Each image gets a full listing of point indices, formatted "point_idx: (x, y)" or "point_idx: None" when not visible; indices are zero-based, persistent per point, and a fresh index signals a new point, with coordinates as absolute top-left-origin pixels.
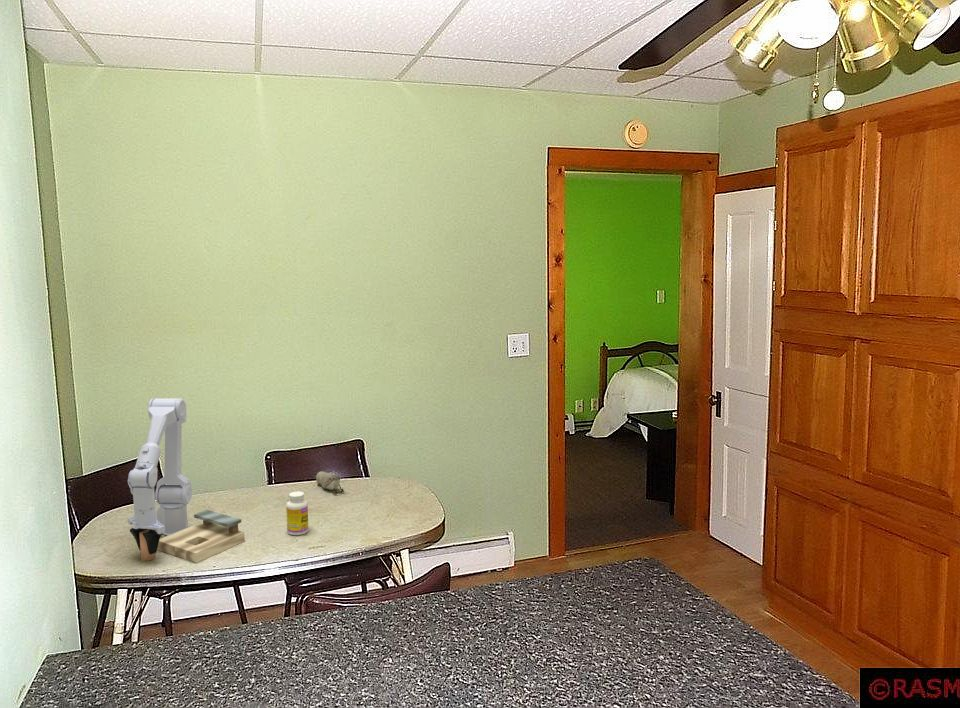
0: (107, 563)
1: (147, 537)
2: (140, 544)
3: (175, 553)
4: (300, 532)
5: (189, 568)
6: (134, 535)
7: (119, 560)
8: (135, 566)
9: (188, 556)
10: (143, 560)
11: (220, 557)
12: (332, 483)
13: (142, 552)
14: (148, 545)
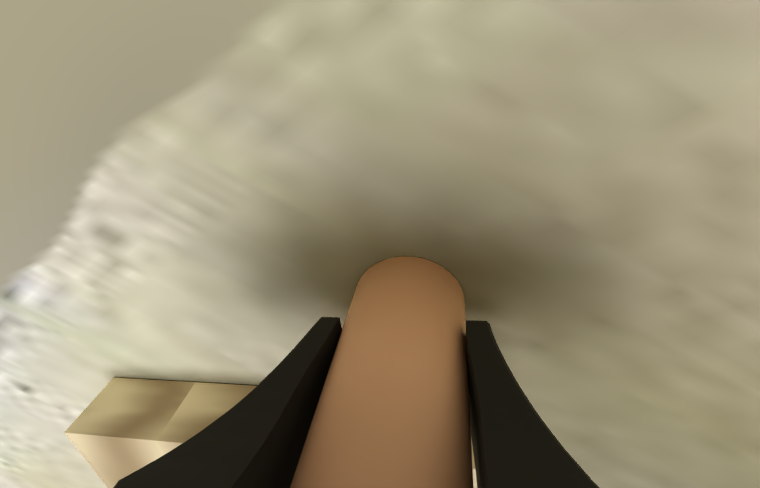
0: (689, 12)
1: (138, 478)
2: (411, 367)
3: None
4: None
5: (59, 324)
6: (528, 469)
7: (610, 145)
8: (338, 158)
9: (159, 402)
10: (394, 258)
11: None
12: None
13: (390, 303)
14: (277, 380)
